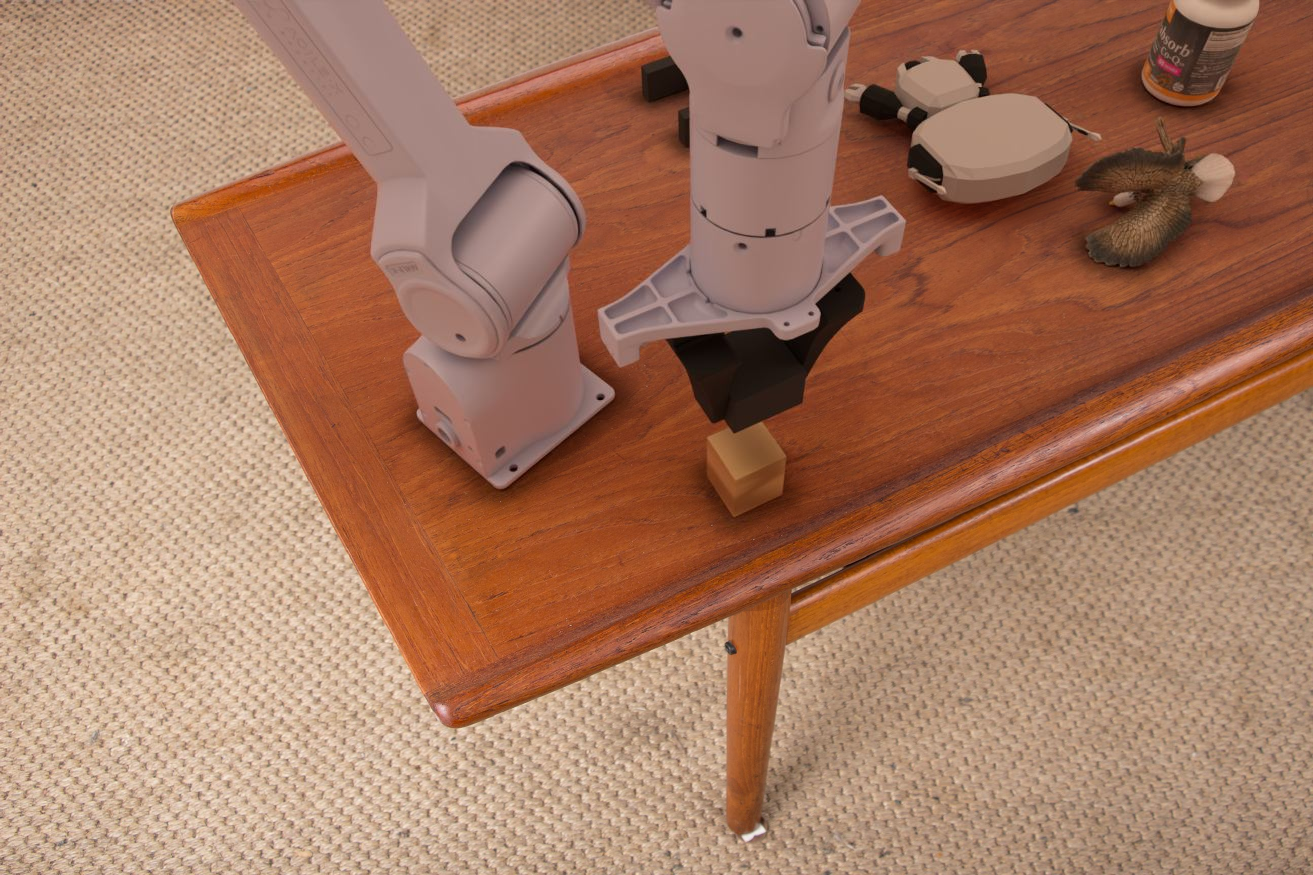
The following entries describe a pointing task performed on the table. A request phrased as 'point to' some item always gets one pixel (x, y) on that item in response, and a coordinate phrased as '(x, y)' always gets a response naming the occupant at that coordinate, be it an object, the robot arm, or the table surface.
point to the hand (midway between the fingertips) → (747, 390)
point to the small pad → (762, 378)
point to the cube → (745, 467)
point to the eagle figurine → (1151, 197)
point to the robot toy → (970, 130)
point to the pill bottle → (1196, 49)
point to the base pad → (666, 89)
